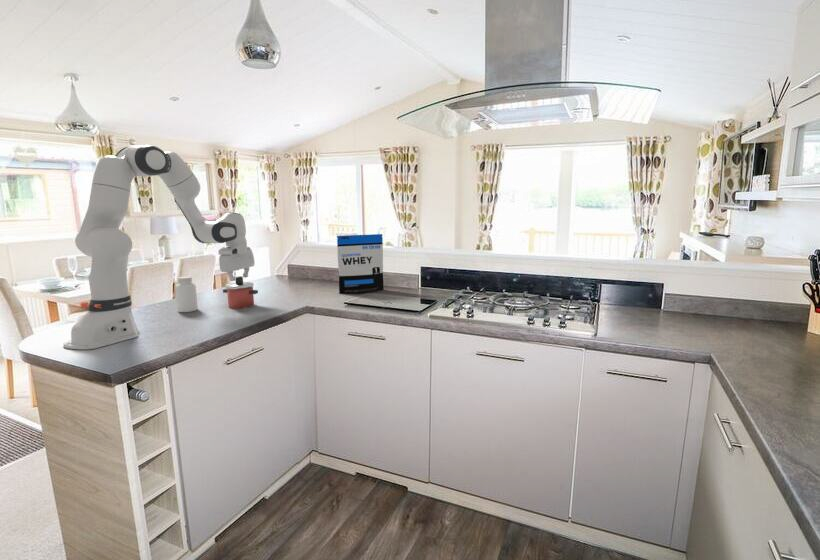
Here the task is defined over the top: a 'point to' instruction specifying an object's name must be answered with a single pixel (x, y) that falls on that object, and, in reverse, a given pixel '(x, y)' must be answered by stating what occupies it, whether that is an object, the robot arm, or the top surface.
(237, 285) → the lid
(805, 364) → the top surface
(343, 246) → the protein powder
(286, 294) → the top surface
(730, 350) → the top surface
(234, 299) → the pot
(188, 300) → the pill bottle
